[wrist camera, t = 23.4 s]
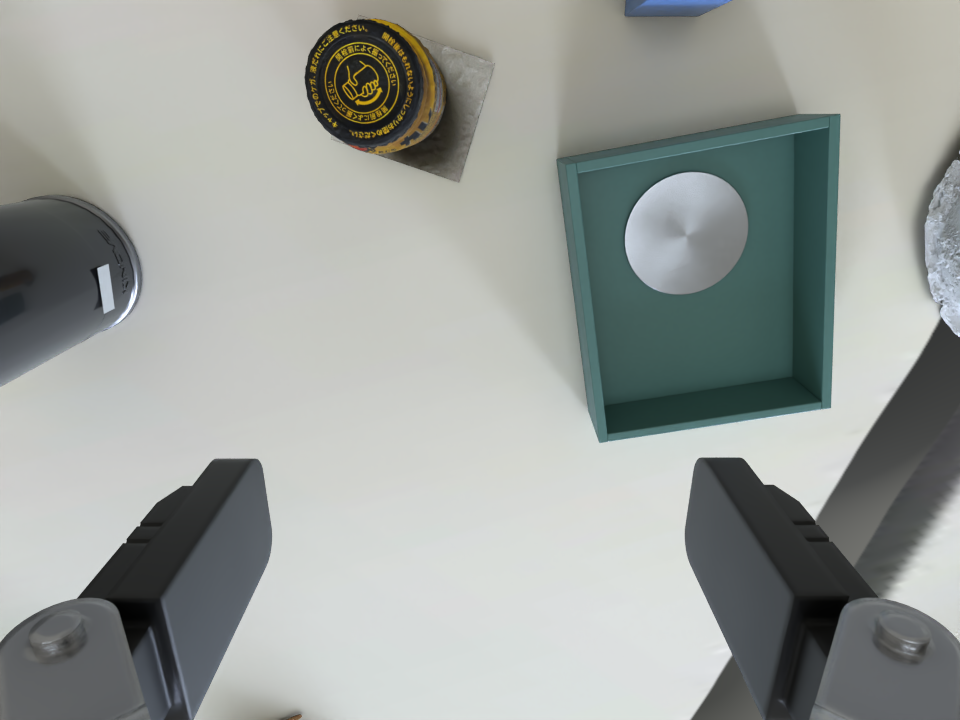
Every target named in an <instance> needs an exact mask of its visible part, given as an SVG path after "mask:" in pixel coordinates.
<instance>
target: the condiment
mask: <svg viewBox="0 0 960 720" xmlns="http://www.w3.org/2000/svg"><path fill="white" fill-rule="evenodd" d="M494 64H495V63H493V62H490V61H487V60H484V59H481V58H479V57H476V56H473V55H470V54H467V53H465V52H462V51H459V50H456V49H453V48H451V47H448V46H445V45H442V44H439V43H437V42H434V41H431V40H428V39H425V38H422V37H420V36H417V35H414V34H411V33H409V32H408V31H406V30H405V29H404V28H402V27H401V26H399V25H398V24H394V23H391V22H388V21H385V20H381V19H369V18H367V17H364V16H361V15H359V14H358V19H357V20H356V21H353V20H352V19H351V20H348V21H346V22H344V23H338V24H337V25H334V26H333V27H331V28H330V29H329V30H328V31H326V32H325V33H324V34H323V35H322V36H321V37H320V38H319V39H318V41H317V43H316V44H315V46H314V47H313V49H312V50H311V51H310V54H309V56H308V62H307V66H306V72H305V85H306V90H307V97H308V100H309V102H310V106H311V109H312V111H313V112H314V115H315V116H316V118H317V119H318V121H319V122H320V123H321V124H322V125H323V127H324V128H325V129H326V130H327V131H328V132H329V133H330V134H332V137H331V140H334V141H337V142H340V143H343V144H346V145H349V146H351V147H353V148H355V149H358V150H361V151H364V152H366V153H372V154H376V155H379V156H382V157H385V158H388V159H391V160H394V161H397V162H400V163H403V164H406V165H408V166H412V167H415V168H418V169H420V170H424V171H427V172H429V173H433V174H436V175H438V176H441V177H444V178H447V179H450V180H453V181H456V182H459V181H460V177H461V174H462V170H463V168H464V164H465V161H466V158H467V154H468V151H469V147H470V144H471V141H472V138H473V134H474V131H475V128H476V124H477V121H478V118H479V114H480V111H481V108H482V104H483V101H484V98H485V94H486V91H487V88H488V84H489V81H490V78H491V74H492V71H493V67H494Z"/></svg>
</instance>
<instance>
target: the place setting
mask: <svg viewBox="0 0 960 720" xmlns="http://www.w3.org/2000/svg"><path fill="white" fill-rule="evenodd" d="M301 717H302V715H296V716H294V717H291V718H289V719H287V720H298V719H300V718H301Z"/></svg>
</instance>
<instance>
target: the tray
mask: <svg viewBox="0 0 960 720" xmlns="http://www.w3.org/2000/svg"><path fill="white" fill-rule="evenodd" d="M839 143H840V114H797V115H792V116H787V117H781V118H776V119H770V120H765V121H760V122H754V123H749V124H743V125H738V126H733V127H727V128H722V129H716V130H711V131H706V132H700V133H695V134H689V135H684V136H679V137H673V138H668V139H662V140H657V141H652V142H646V143H641V144H635V145H630V146H625V147H619V148H614V149H608V150H603V151H597V152H592V153H587V154H581V155H576V156H570V157H565V158H560V159H557V167H558V175H559V183H560V191H561V199H562V207H563V214H564V222H565V230H566V238H567V246H568V254H569V262H570V270H571V278H572V285H573V293H574V301H575V309H576V317H577V325H578V333H579V341H580V349H581V356H582V364H583V372H584V380H585V388H586V396H587V404H588V411H589V414H590V417H591V420H592V423H593V426H594V429H595V432H596V435H597V437H598V440H599V443H603V442H608V441H615V440H622V439H628V438H635V437H642V436H648V435H655V434H661V433H668V432H675V431H681V430H688V429H695V428H701V427H708V426H715V425H721V424H728V423H735V422H741V421H748V420H754V419H761V418H768V417H774V416H781V415H788V414H794V413H801V412H808V411H814V410H821V409H828V408H831V388H832V357H833V326H834V296H835V265H836V235H837V204H838V174H839ZM685 171H700V172H706V173H710V174H713V175H716V176H718V177H720V178H722V179H724V180H725V181H726V182H728V183H729V184H730V185H731V186H732V187H734V188H735V190H736V191H737V192H738V193H739V195H740V197H741V198H742V200H743V202H744V205H745V207H746V210H747V215H748V223H749V227H748V237H747V242H746V245H745V248H744V250H743V253H742V255H741V257H740V259H739V260H738V262H737V264H736V265H735V266H734V267H733V269H732V270H731V271H730V272H729V273H728V274H727V275H726V276H725V277H724V278H723V279H721V280H720V281H719V282H717V283H716V284H714V285H713V286H711V287H709V288H707V289H705V290H702V291H699V292H696V293H692V294H685V295H673V294H666V293H663V292H659V291H657V290H655V289H653V288H651V287H649V286H648V285H646V284H645V283H644V282H643V281H641V280H640V279H639V278H638V277H637V275H636V274H635V273H634V272H633V270H632V269H631V267H630V265H629V263H628V261H627V258H626V255H625V250H624V238H623V237H624V228H625V224H626V220H627V218H628V215H629V213H630V211H631V209H632V207H633V205H634V204H635V202H636V201H637V199H638V198H639V197H640V196H641V195H642V193H643V192H644V191H645V190H647V189H648V188H649V187H650V186H651V185H653V184H654V183H655V182H657V181H659V180H660V179H662V178H664V177H666V176H669V175H672V174H675V173H679V172H685Z"/></svg>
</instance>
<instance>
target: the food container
mask: <svg viewBox="0 0 960 720" xmlns="http://www.w3.org/2000/svg"><path fill="white" fill-rule="evenodd" d="M959 154H960V150H959ZM957 158H958V157H957ZM928 208H929V214H928V216H927V222H926V223H925V262H926V268H927V269H928V272H929V273H928V274H929V275H928V277H927V278H928V282H929V284H930V291H931V294H932V295H933V299H935V302H937V303H938V304H940V305H941V304H943V307H942V308H941V312H940V314H941V316H942V318H943V319H944V321H945V322H946V323H947V324H948V325H949V327H951V329H952V330H953V332H954V333H955V334H957V335H958V336H959V337H960V161H958V160H954V161H953V163H952V164H951V166H950V167H949V168H948V169H947V172H946V173H945V177H944V178H943V179H942V181H941V182H940V183H939V185H938V186H937V187H936V189H935V191H934V193H933V200H932V201H931V203H930V205H929V206H928Z"/></svg>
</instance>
